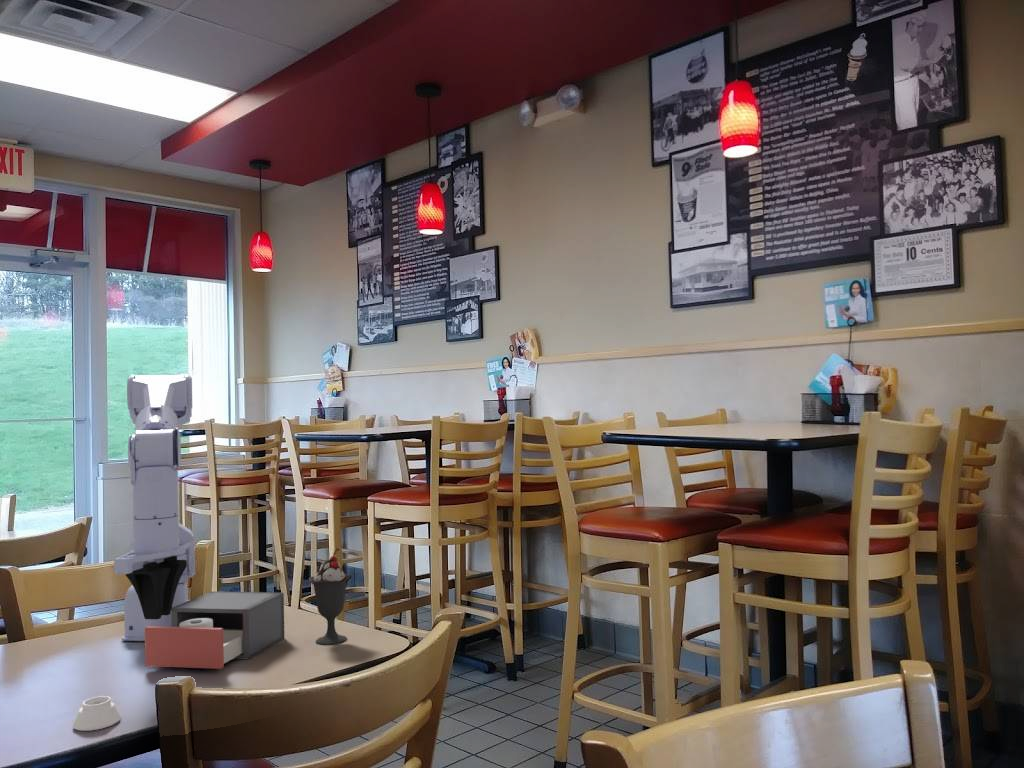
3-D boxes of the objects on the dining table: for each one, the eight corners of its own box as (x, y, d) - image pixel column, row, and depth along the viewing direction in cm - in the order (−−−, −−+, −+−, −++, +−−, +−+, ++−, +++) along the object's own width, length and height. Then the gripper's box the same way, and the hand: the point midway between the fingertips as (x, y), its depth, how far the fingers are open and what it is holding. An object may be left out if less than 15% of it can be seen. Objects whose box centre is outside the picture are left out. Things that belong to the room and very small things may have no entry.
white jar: (122, 727, 95) (118, 714, 99) (121, 702, 95) (117, 690, 99) (74, 737, 92) (72, 723, 96) (73, 711, 92) (72, 698, 97)
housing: (172, 656, 122) (171, 607, 122) (212, 636, 133) (211, 591, 133) (249, 659, 120) (248, 609, 120) (284, 638, 130) (283, 592, 131)
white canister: (172, 660, 116) (172, 624, 116) (193, 650, 120) (192, 616, 120) (200, 661, 115) (199, 625, 115) (219, 652, 119) (219, 617, 119)
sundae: (347, 646, 125) (345, 549, 125) (305, 647, 125) (303, 551, 125) (356, 634, 131) (354, 542, 132) (316, 635, 132) (314, 544, 132)
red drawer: (145, 665, 115) (144, 627, 115) (189, 644, 126) (188, 609, 126) (220, 668, 113) (220, 629, 113) (258, 646, 123) (258, 610, 123)
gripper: (147, 524, 101) (149, 632, 101) (212, 509, 116) (213, 604, 115) (99, 524, 103) (100, 630, 102) (168, 510, 117) (170, 603, 117)
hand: (157, 616), depth 109 cm, fingers closed
